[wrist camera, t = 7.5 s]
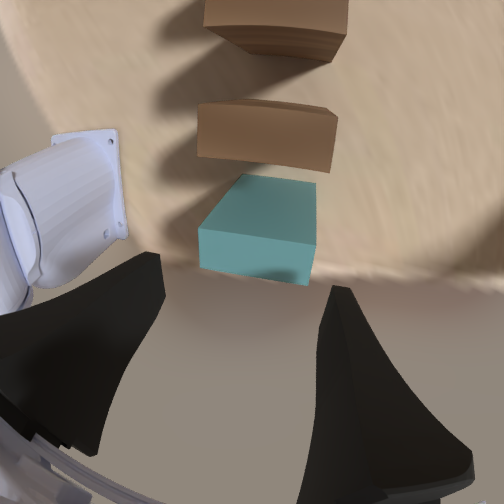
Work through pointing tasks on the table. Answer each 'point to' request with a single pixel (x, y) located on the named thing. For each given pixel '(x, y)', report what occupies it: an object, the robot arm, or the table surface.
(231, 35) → the domino
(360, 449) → the robot arm
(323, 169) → the domino
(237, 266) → the teal domino
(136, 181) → the table surface
